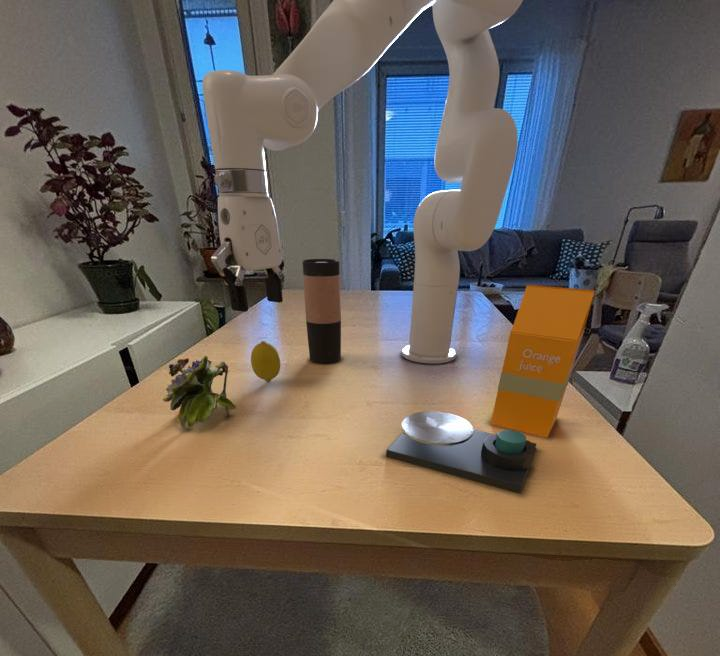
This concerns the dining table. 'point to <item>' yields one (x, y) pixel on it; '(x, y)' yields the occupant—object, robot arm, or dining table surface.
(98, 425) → the dining table surface
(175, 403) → the purple flowering plant
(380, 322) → the dining table surface
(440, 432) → the scale pan
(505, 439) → the tare button
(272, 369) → the lemon
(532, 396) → the orange juice
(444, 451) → the scale
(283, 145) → the robot arm
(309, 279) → the travel mug
